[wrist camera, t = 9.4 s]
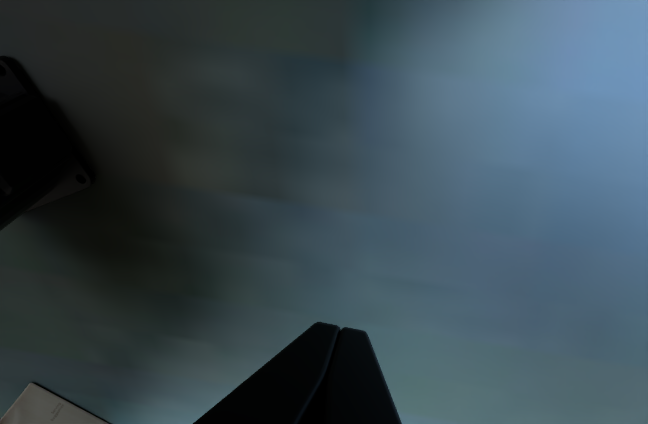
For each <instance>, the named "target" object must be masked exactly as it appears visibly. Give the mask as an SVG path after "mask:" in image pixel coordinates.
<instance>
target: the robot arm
mask: <svg viewBox="0 0 648 424" xmlns="http://www.w3.org/2000/svg"><path fill="white" fill-rule="evenodd" d="M2 66H3V67H4V68H5V70H6V72H5V71H4V70H3V68H2ZM81 175H83V176H84V177H85V179H84V178H83V177H82V176H81ZM95 179H96V178H95V174H94V172H93V171H92V169H91V168H90V167H89V165H88V164H87V163H86V161H85V160H84V158H83V157H82V156H81V154H80V153H79V151H78V150H77V149H76V147H75V146H74V145H73V143H72V142H71V140H70V139H69V138H68V136H67V135H66V133H65V132H64V131H63V129H62V128H61V126H60V125H59V124H58V122H57V121H56V120H55V118H54V117H53V115H52V114H51V113H50V111H49V110H48V108H47V107H46V106H45V104H44V103H43V102H42V100H41V99H40V97H39V96H38V95H37V93H36V92H35V90H34V89H33V88H32V86H31V85H30V84H29V82H28V81H27V79H26V78H25V77H24V75H23V74H22V72H21V71H20V70H19V68H18V67H17V66H16V64H15V63H14V62H13V61H12V60H11V59H10V58H8V57H6V56H0V231H1V230H2V229H3V228H5V227H6V226H7V225H8V224H10V223H11V222H12V221H14V220H15V219H16V218H17V217H19V216H20V215H21V214H23V213H24V212H26V211H29V210H31V209H34V208H37V207H39V206H42V205H44V204H47V203H50V202H52V201H55V200H57V199H60V198H62V197H65V196H68V195H70V194H73V193H75V192H78V191H81V190H83V189H86V188H88V187H89V186H90V185H92V184H93V183H94V182H95ZM193 424H402V423H401V420H400V418H399V415H398V412H397V410H396V407H395V405H394V402H393V399H392V397H391V394H390V392H389V389H388V386H387V384H386V381H385V378H384V376H383V373H382V371H381V368H380V365H379V363H378V360H377V358H376V355H375V352H374V350H373V347H372V345H371V342H370V339H369V337H368V335H367V333H366V332H365V331H362V330H358V329H353V328H348V327H344V328H342V330H341V329H340V327H339V326H337V325H332V324H327V323H322V322H317V323H315V324H313V325H312V326H311V327H310V328H309V329H307V330H306V331H305V332H304V333H303V334H301V335H300V336H299V337H298V338H296V339H295V340H294V341H293V342H292V343H290V344H289V345H288V346H287V347H285V348H284V349H283V350H282V351H281V352H279V353H278V354H277V355H276V356H275V357H273V358H272V359H271V360H270V361H268V362H267V363H266V364H265V365H264V366H262V367H261V368H260V369H259V370H258V371H256V372H255V373H254V374H253V375H251V376H250V377H249V378H248V379H247V380H245V381H244V382H243V383H242V384H241V385H239V386H238V387H237V388H236V389H234V390H233V391H232V392H231V393H230V394H228V395H227V396H226V397H225V398H224V399H222V400H221V401H220V402H219V403H217V404H216V405H215V406H214V407H213V408H211V409H210V410H209V411H208V412H207V413H205V414H204V415H203V416H202V417H200V418H199V419H198V420H197V421H196V422H194V423H193Z"/></svg>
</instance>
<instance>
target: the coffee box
mask: <svg viewBox="0 0 648 424" xmlns="http://www.w3.org/2000/svg"><path fill="white" fill-rule="evenodd" d="M0 424H109V423H107V422H105V421H103V420H101V419H99V418H97V417H95V416H93V415H92V414H90V413H88V412H86V411H84V410H82V409H80V408H79V407H77V406H75V405H73V404H71V403H69V402H67V401H65V400H63V399H61V398H60V397H58V396H56V395H54V394H52V393H50V392H49V391H47V390H45V389H43V388H41V387H39V386H38V385H36V384H34V383H29V385H28V386H27V387H26V389H25V390H24V391H23V392H22V394H21V395H20V396H19V397H18V398H17V400H16V401H15V402H14V403H13V405H12V406H11V407H10V408H9V410H8V411H7V412H6V413H5V414H4V416H3V417H2V418H1V419H0Z"/></svg>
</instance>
